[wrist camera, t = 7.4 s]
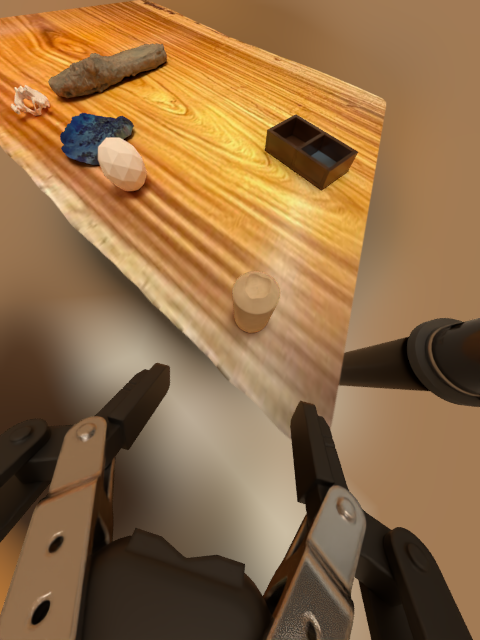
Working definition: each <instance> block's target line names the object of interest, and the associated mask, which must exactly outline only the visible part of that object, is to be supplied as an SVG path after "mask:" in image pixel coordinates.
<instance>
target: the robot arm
mask: <svg viewBox="0 0 480 640" xmlns="http://www.w3.org/2000/svg"><path fill="white" fill-rule="evenodd" d="M425 352H426V357H427V360H428V363H429V365H430V367H431V369H432V370H433V372H434V373H435V374H436V376H437V377H438V378H439V379H440V380H441V381H442V382H443V383H444V384H446V385H447V386H448V387H450V388H451V389H453V390H455V391H457V392H459V393H462V394H465V395H470V396H475V397H476V398H478V399H479V400H480V318H478V319H474V320H470V321H466V322H462V323H457V324H453V325H447V326H443V327H440V328H437V329H435V330H433V331H432V332H431V333H430V334H429V336H428V338H427V340H426V344H425ZM169 386H170V367H169V366H167V365H164V364H160V363H156V364H154V365H153V367H152V368H151V369H150V370H146V369H145V370H143V371H141V372H139V373H137V374H136V375H135V376H134V377H133V378H132V379H131V380H130V381H129V383H127V384H126V385H125V386H124V387H123V389H121V390H120V391H119V392H118V393H117V394H116V395H115V396H114V398H112V399H111V400H110V401H109V402H108V403H107V404H106V405H105V406H104V408H102V409H101V410H100V412H99V413H97V414H96V415H95V416H92V417H88V418H85V419H83V420H81V421H79V422H78V423H76V424H75V425H65V426H48V424H47V422H46V421H45V420H43V419H30V420H26V421H23V422H21V423H18V424H17V425H15V426H13V427H11V428H9V429H8V430H7V431H5V432H4V433H3V434H1V435H0V542H1V541H2V540H3V539H4V537H5V536H6V535H7V534H8V533H9V531H10V530H11V529H12V528H13V527H14V526H15V524H16V523H17V522H18V521H19V520H20V518H21V517H22V516H23V515H24V514H25V512H26V511H27V510H28V509H29V508H30V506H31V505H32V504H33V503H34V502H35V501H36V499H37V498H38V497H39V496H40V495H41V493H42V492H43V491H44V490H45V489H46V487H47V486H48V485H49V484H50V483H51V485H50V489H49V491H48V494H47V495H46V497H45V498H43V499H42V500H40V501H39V503H38V504H37V506H36V508H35V510H34V513H33V516H32V519H31V522H30V525H29V528H28V531H27V534H26V538H25V540H24V544H23V547H22V550H21V553H20V556H19V559H18V562H17V565H16V569H15V572H14V575H13V578H12V581H11V584H10V587H9V590H8V593H7V597H6V599H5V602H4V606H3V609H2V612H1V615H0V640H349V639H350V634H351V630H352V625H353V619H354V603H353V601H352V599H351V589H352V585H353V580H354V577H355V578H357V579H358V580H359V585H360V589H361V594H362V599H363V603H364V608H365V612H366V617H367V621H368V626H369V631H370V635H371V640H473V639H472V637H471V635H470V633H469V631H468V629H467V626H466V625H465V622H464V620H463V618H462V616H461V614H460V612H459V609H458V607H457V605H456V603H455V601H454V599H453V597H452V595H451V592H450V590H449V588H448V586H447V584H446V582H445V580H444V577H443V575H442V573H441V571H440V569H439V567H438V565H437V563H436V561H435V559H434V558H433V556H432V554H431V553H430V552H429V550H428V549H427V547H426V546H425V545H424V544H423V543H422V542H421V541H420V539H418V538H417V537H416V536H415V535H414V534H413V533H411V532H410V531H408V530H407V529H405V528H401V527H397V528H395V529H393V530H390V529H389V528H388V527H386V526H385V525H383V524H382V523H380V522H379V521H377V520H376V519H374V518H373V517H372V516H370V515H369V514H367V513H366V512H365V511H364V510H363V509H362V508H361V506H360V504H359V502H358V501H357V500H356V498H355V497H354V496H353V495H352V494H351V493H350V492H349V490H348V487H347V485H346V481H345V478H344V475H343V471H342V468H341V464H340V461H339V458H338V454H337V451H336V449H335V444H334V441H333V440H332V435H331V431H330V428H329V426H328V424H327V423H326V421H325V420H324V418H323V417H321V416H318V414H317V411H316V407H315V405H314V404H311V403H307V402H303V401H300V402H299V404H298V406H297V408H296V410H295V412H294V414H293V416H292V418H291V425H290V428H291V439H292V448H293V459H294V470H295V480H296V491H297V501H298V502H300V503H303V504H306V511H307V514H306V515H305V517H304V519H303V521H302V523H301V525H300V527H299V529H298V531H297V534H296V535H295V537H294V540H293V541H292V544H291V546H290V547H289V549H288V551H287V553H286V555H285V558H284V560H283V561H282V563H281V564H280V566H279V567H278V569H277V570H276V572H275V574H274V576H273V577H272V579H271V581H270V583H269V585H268V587H267V589H266V591H265V593H264V595H263V596H262V594H261V593H260V591H259V590H258V588H257V586H256V585H255V583H254V582H253V581H252V580H251V579H250V578H249V577H248V576H247V575H246V574H245V573H244V569H245V564H243V563H240V562H237V561H234V560H231V559H228V558H225V557H222V556H219V555H212V556H202V557H194V558H186V557H184V556H182V555H181V554H180V553H179V552H178V551H177V550H176V549H175V548H174V547H173V546H172V545H170V544H169V543H168V542H167V541H166V540H165V539H164V538H163V537H161V536H159V535H156V534H153V533H149V532H146V531H143V530H140V529H137V528H135V531H134V533H133V535H132V536H127V537H124V538H120V539H118V540H115V541H113V542H112V539H113V505H112V504H113V487H114V486H113V485H114V472H115V456H116V455H117V453H118V452H119V450H120V449H121V448H123V449H127V450H129V449H130V447H131V446H132V444H133V442H134V441H135V440H136V438H137V437H138V435H139V433H140V432H141V431H142V429H143V428H144V426H145V425H146V423H147V422H148V420H149V419H150V417H151V416H152V414H153V413H154V411H155V410H156V408H157V407H158V405H159V404H160V402H161V401H162V399H163V398H164V396H165V395H166V393H167V391H168V389H169Z"/></svg>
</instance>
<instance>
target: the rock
mask: <svg viewBox="0 0 480 640" xmlns="http://www.w3.org/2000/svg"><path fill="white" fill-rule="evenodd" d="M133 127H134V125H133V123H132V122H131V121H130V120H129V119H127V118H125V117H123V116H119V117H117V119H115V118H111V117H102V116H95V115H91V114H86V113H82V114H80V115H79V116H75V117H72V121H71V123H70V124H68V125H67V127H66V128H65V131H64V132H62V133H61V136H60V137H61V142H62V143H63V144H64V146H63V147H62V148H61V149H62V151H63V152H64V153H65V154H66V155H67V156H68V157H70V158H72V159H74V160H77V161H80V162H85V163H88V164H92V165H96V164H97V165H99V161H98V146H99V145H100V144H101V143H102V142H103V141H104V140H105V138H121V139H123V140H124V138H126V137H129V135H131V131H132V128H133Z"/></svg>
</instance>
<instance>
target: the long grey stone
mask: <svg viewBox="0 0 480 640" xmlns="http://www.w3.org/2000/svg"><path fill="white" fill-rule="evenodd" d="M165 61H167V55H166V52H165V50H164V46H163V44H150V45H149V44H144V45H142V46H139V47H137V48H134V49H130V50H125V51H123V52H120V53H118V54H115V55H113V56H108V57H107V56H100V55H99V54H96V53H94V54H91V55H90V57H88V58H86V59H83V60H82V61H79V62H77V63H72V65H70V68H67V69H65V70H64V71H62V72H61V73H60V74H58V75H56V76H54V77H51V78H50V79H49V85H50V87H51V88H52V90H53V91H54V92H55V93H56V94H57V95H58V96H61V97H66V98H69V97H75V96H83V95H88V94H93V93H94V92H96V91H98V92H103V90H105V89H107V88H108V87H109V86H110V85H113V84H116V83H117V82H120V81H121V80H122V79H123V78H124V77H125V76H128V77H129V76H130V75H132V76H135V75H136V74H137V73H139V72H142V71H148V70H152V69H156V68H157V67H158V66H159V65H161V64H162V63H164V62H165Z"/></svg>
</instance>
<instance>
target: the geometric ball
mask: <svg viewBox="0 0 480 640" xmlns="http://www.w3.org/2000/svg"><path fill="white" fill-rule="evenodd" d="M98 161H99V164H100V166H101V169H102V171H103V173H104V176H105V177H107V178H108V179H109V180H110V181H111V182H112V183H113V184H114V185H116V186H117V187H119V188H121V189H123V190H125V191H135V190H139V189H140V188H141V187H142V186H143V185H144V183H145V179H146V175H147V171H146V168H145V165H144V162H143V160H142V157H141V156H140V155H139V153H138V152H137V151H136V149H135V148H134V146H133V145H131V144H129V143H128V142H126V141H125V140H123V139H121V138H105V140H104V141H103V142H102V143H101V144H100V145H99V146H98Z"/></svg>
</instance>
